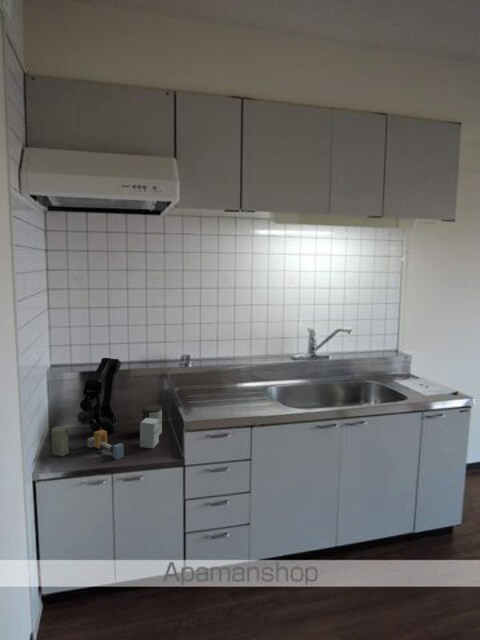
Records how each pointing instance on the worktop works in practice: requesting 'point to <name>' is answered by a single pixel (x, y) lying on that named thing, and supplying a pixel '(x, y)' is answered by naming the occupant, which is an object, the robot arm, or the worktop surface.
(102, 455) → the worktop surface
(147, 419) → the supplement box
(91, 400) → the robot arm
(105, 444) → the grey mallet
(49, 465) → the worktop surface
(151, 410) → the coffee can
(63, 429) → the skincare box
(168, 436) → the worktop surface
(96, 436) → the sleeve
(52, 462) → the worktop surface
